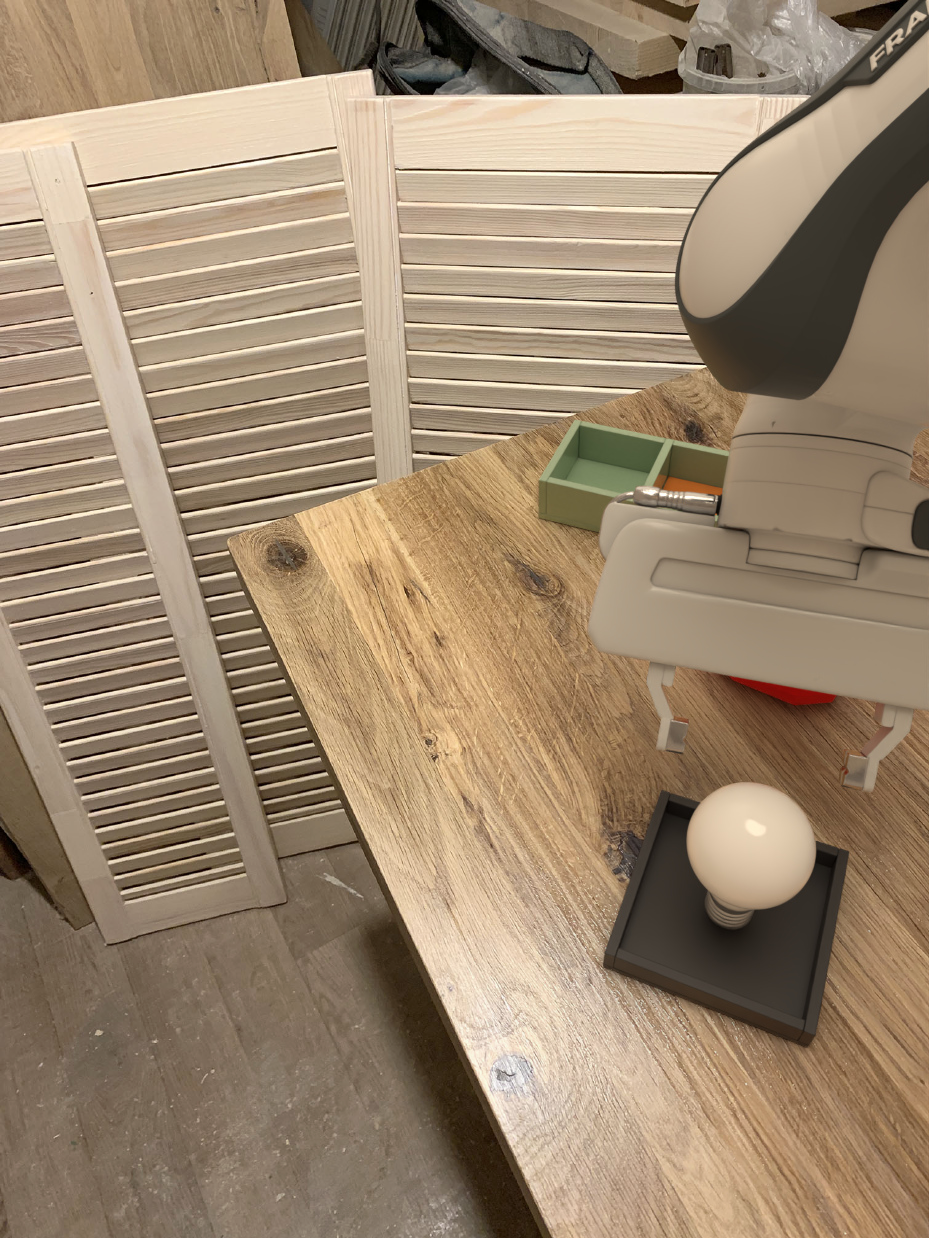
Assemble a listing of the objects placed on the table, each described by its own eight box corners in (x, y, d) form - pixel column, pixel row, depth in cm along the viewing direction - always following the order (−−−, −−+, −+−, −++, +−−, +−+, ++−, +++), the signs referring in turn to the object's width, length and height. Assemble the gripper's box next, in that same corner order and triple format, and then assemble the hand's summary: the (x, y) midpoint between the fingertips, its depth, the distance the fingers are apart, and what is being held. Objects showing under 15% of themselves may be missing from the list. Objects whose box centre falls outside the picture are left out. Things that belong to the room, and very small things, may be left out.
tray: (841, 866, 55) (849, 850, 54) (807, 1048, 48) (815, 1035, 47) (658, 805, 59) (661, 788, 57) (602, 966, 52) (604, 952, 51)
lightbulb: (713, 841, 56) (743, 736, 48) (806, 910, 53) (854, 810, 45) (648, 913, 54) (668, 814, 45) (742, 990, 50) (781, 899, 42)
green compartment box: (864, 521, 75) (878, 481, 72) (848, 594, 70) (862, 554, 67) (573, 457, 83) (574, 419, 80) (538, 518, 78) (538, 479, 75)
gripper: (602, 473, 47) (557, 738, 48) (1046, 533, 42) (986, 826, 43) (612, 486, 53) (572, 721, 54) (1001, 540, 48) (950, 796, 49)
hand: (760, 768), depth 49 cm, fingers open, 8 cm apart
